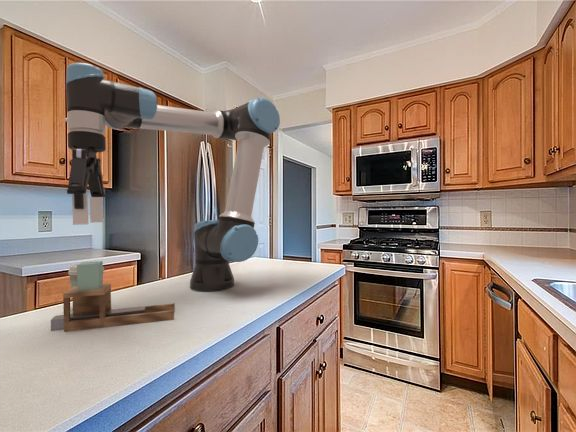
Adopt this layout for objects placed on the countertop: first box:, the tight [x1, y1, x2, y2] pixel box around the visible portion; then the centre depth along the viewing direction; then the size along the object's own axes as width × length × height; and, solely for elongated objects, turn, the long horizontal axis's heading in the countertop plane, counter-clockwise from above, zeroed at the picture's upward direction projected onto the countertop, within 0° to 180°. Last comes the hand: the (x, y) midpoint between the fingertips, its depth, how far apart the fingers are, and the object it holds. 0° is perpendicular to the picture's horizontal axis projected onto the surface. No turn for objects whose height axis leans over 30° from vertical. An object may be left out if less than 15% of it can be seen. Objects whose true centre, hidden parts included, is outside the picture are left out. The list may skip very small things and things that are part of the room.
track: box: [62, 283, 176, 332], centre depth 77 cm, size 23×7×8 cm, turn 109°
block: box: [77, 260, 104, 291], centre depth 74 cm, size 4×4×6 cm
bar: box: [50, 305, 147, 332], centre depth 75 cm, size 19×3×3 cm, turn 111°
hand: (89, 223), depth 74 cm, fingers open, 13 cm apart
